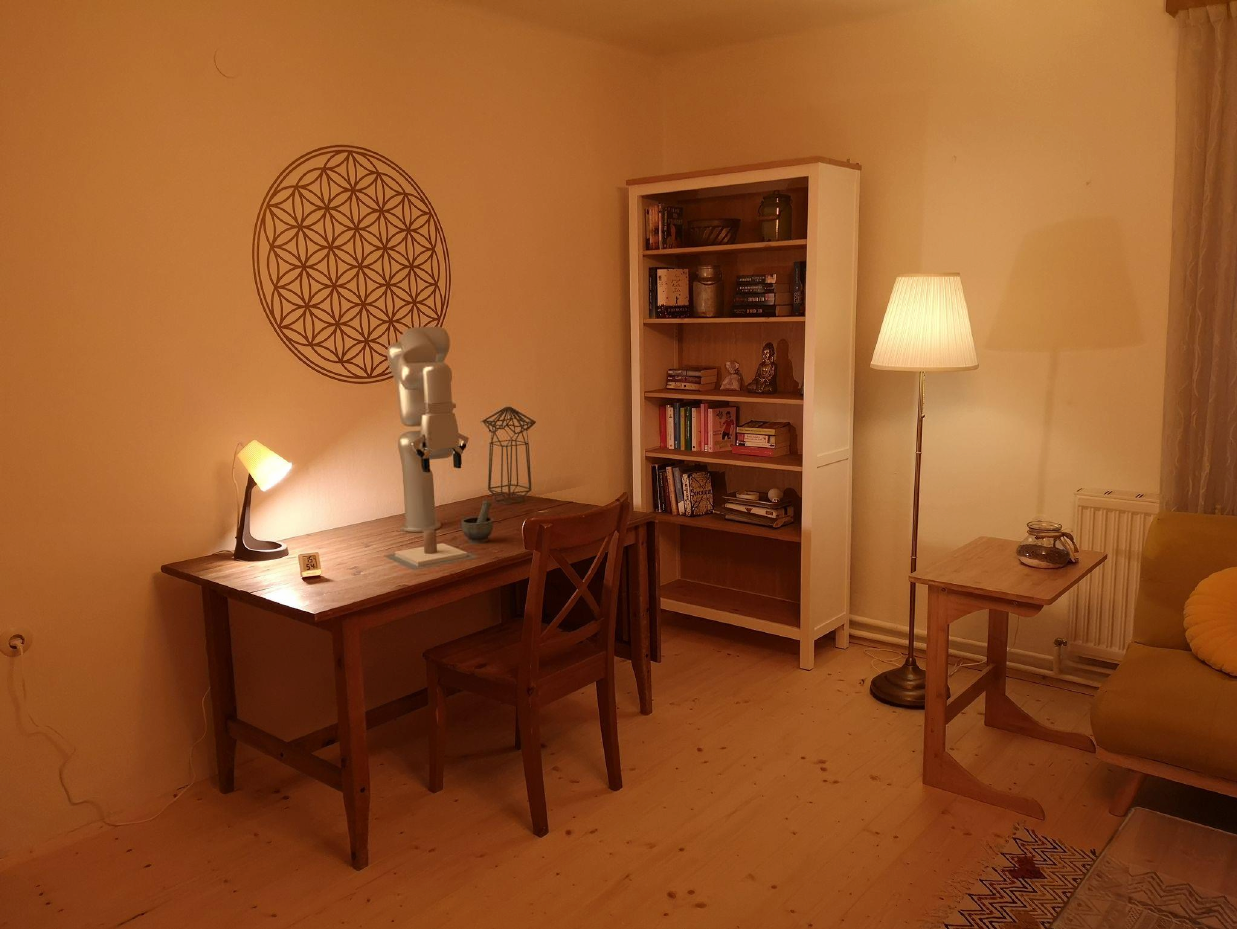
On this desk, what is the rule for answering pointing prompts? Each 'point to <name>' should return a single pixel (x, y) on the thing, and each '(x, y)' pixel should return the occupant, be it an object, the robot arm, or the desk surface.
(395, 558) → the slate mat
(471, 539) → the mortar and pestle
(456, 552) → the cover board
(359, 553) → the desk surface
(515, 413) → the geometric lantern
